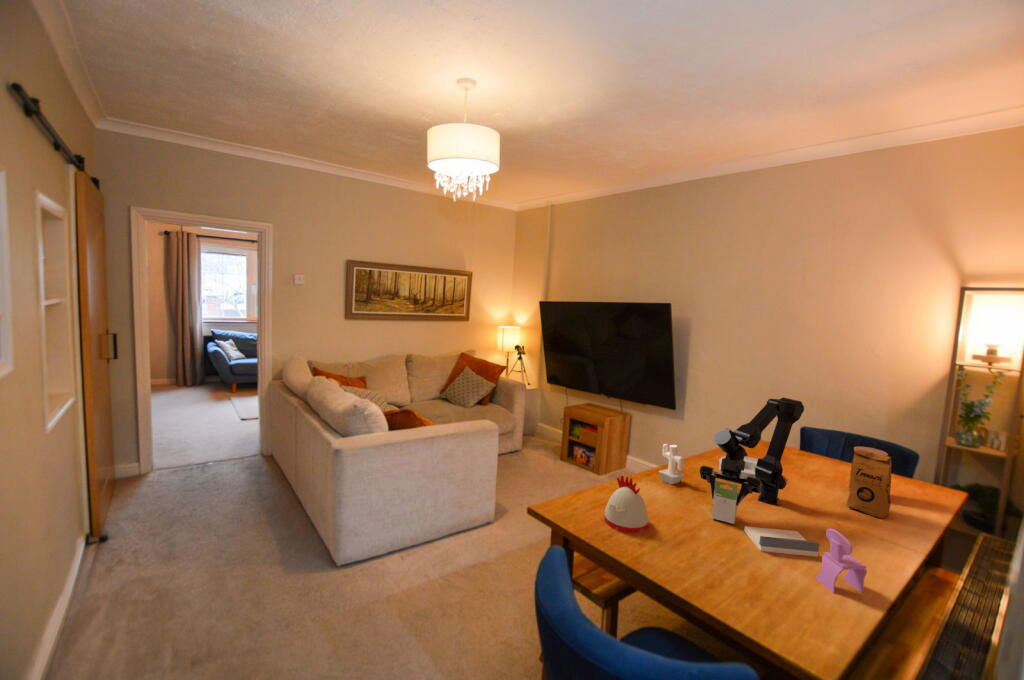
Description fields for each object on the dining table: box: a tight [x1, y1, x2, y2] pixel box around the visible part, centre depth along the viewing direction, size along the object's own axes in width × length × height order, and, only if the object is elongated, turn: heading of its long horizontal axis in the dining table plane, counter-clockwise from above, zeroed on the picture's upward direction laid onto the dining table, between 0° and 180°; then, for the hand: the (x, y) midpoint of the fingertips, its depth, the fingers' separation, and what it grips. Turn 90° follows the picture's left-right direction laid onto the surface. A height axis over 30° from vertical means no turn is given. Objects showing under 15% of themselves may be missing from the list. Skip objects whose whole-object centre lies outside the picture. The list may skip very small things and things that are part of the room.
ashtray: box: [718, 455, 762, 484], centre depth 199 cm, size 23×23×4 cm
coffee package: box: [846, 449, 892, 520], centre depth 166 cm, size 10×12×22 cm
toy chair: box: [815, 527, 868, 594], centre depth 120 cm, size 8×9×15 cm
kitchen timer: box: [603, 475, 649, 534], centre depth 149 cm, size 14×14×15 cm
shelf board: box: [743, 525, 820, 558], centre depth 141 cm, size 12×16×4 cm
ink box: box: [711, 479, 739, 525], centre depth 153 cm, size 7×4×13 cm, turn 57°
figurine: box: [658, 443, 686, 485], centre depth 185 cm, size 7×9×15 cm
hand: (724, 501), depth 152 cm, fingers closed on ink box, 7 cm apart
